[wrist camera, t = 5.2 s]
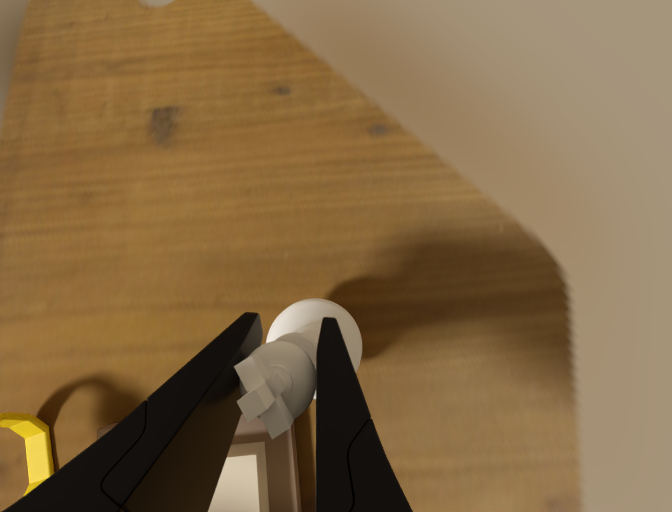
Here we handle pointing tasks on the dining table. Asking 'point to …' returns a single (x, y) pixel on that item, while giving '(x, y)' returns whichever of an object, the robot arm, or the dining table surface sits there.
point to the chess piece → (290, 363)
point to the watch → (32, 445)
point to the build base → (276, 463)
